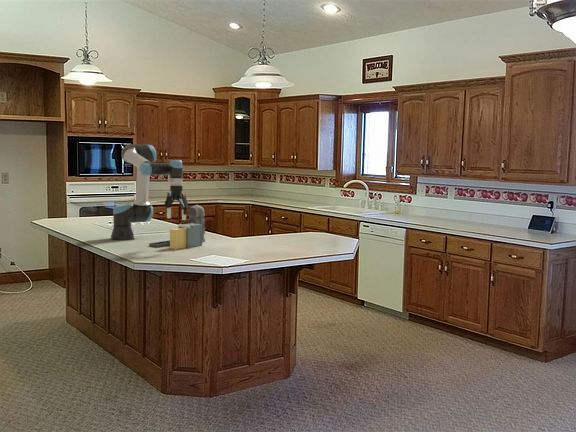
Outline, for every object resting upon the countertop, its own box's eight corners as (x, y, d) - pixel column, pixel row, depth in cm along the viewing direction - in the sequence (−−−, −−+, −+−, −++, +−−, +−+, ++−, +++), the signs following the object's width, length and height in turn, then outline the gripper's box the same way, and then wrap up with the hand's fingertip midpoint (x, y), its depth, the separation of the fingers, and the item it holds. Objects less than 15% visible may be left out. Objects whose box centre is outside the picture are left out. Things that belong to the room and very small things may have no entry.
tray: (149, 246, 385) (149, 243, 385) (170, 243, 399) (170, 240, 399) (158, 247, 380) (158, 244, 380) (179, 244, 394) (179, 241, 394)
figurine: (198, 243, 401) (198, 205, 398) (185, 240, 411) (185, 204, 408) (209, 241, 408) (209, 204, 405) (196, 239, 418) (196, 203, 415)
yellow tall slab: (170, 248, 379) (169, 229, 378) (186, 245, 390) (186, 227, 389) (175, 249, 376) (175, 230, 375) (191, 246, 387) (191, 227, 386)
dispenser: (178, 246, 387) (178, 224, 386) (192, 244, 397) (192, 222, 395) (188, 247, 382) (188, 225, 380) (202, 245, 391) (202, 224, 390)
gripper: (158, 184, 380) (158, 218, 382) (185, 186, 365) (185, 221, 367) (167, 184, 386) (167, 217, 388) (194, 185, 371) (194, 220, 373)
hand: (176, 219), depth 378 cm, fingers open, 13 cm apart
